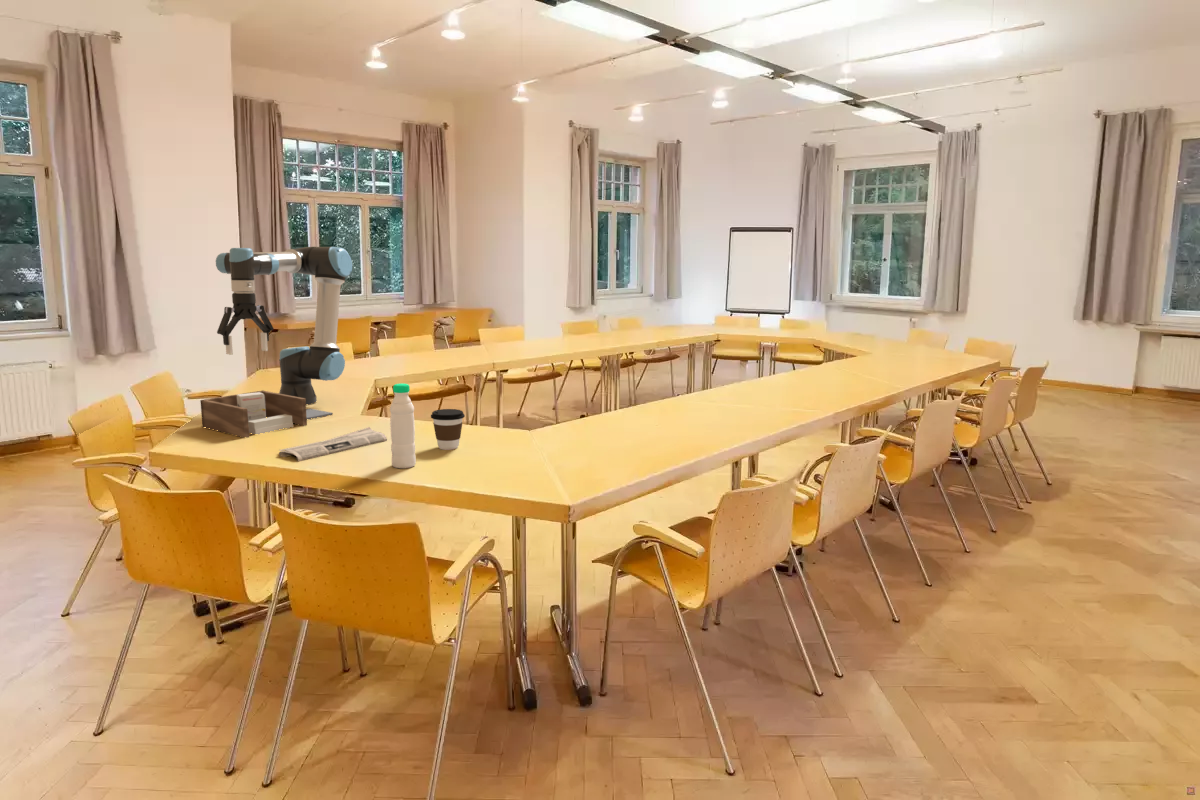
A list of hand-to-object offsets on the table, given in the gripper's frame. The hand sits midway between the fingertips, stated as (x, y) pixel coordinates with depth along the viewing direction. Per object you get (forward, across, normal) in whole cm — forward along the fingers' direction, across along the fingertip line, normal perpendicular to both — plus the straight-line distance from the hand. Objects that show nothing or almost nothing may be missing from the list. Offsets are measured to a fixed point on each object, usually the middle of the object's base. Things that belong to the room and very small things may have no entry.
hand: (247, 352), depth 283 cm
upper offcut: (+25, 0, -11) cm, 27 cm away
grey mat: (+27, +23, 0) cm, 35 cm away
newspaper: (+28, -2, -48) cm, 56 cm away
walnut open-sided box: (+27, 0, -2) cm, 27 cm away
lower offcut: (+27, 0, -11) cm, 30 cm away
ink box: (+27, 0, 0) cm, 27 cm away
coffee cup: (+27, +20, -78) cm, 85 cm away
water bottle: (+27, -4, -83) cm, 87 cm away
